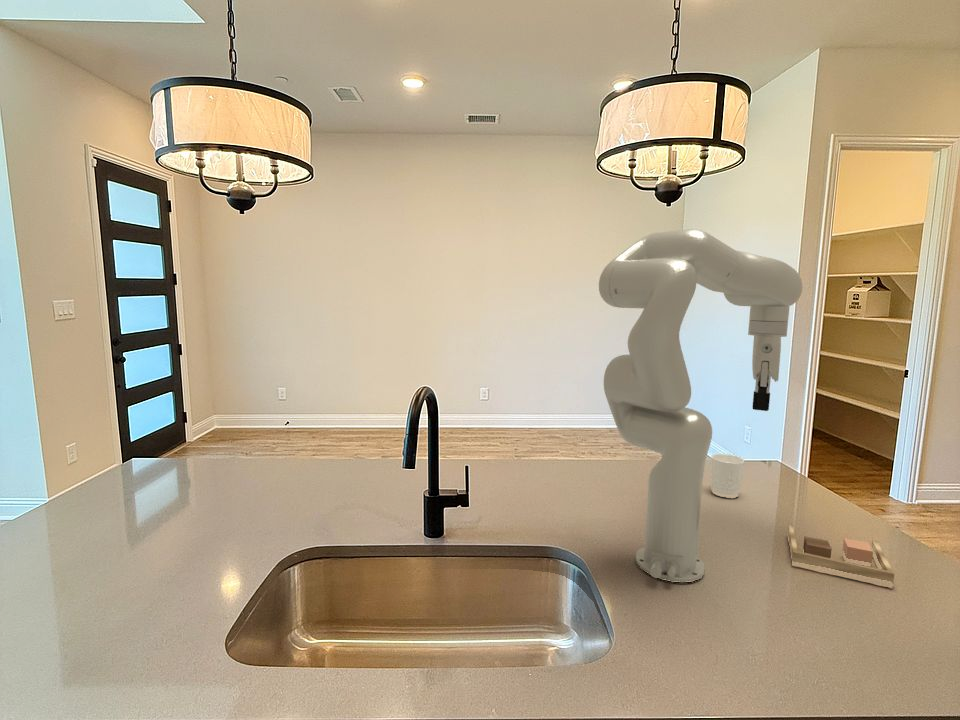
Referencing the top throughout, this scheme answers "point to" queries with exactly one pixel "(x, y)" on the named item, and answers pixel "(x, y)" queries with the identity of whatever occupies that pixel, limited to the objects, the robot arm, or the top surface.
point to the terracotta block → (857, 550)
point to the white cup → (726, 473)
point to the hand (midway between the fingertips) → (760, 409)
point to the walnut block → (817, 547)
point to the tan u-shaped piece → (848, 567)
